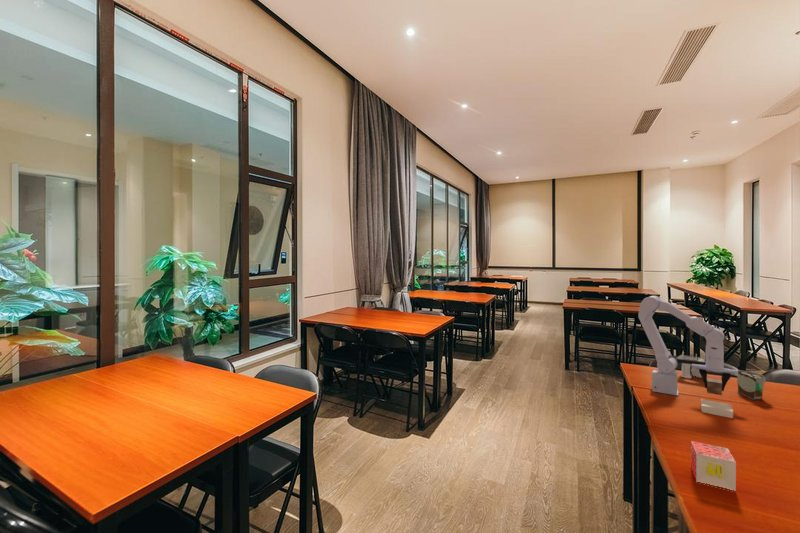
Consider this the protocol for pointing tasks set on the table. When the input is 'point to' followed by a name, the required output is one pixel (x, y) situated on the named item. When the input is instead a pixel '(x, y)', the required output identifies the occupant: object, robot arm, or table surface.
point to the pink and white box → (713, 465)
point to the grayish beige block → (714, 386)
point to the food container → (750, 384)
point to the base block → (716, 408)
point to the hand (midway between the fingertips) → (714, 388)
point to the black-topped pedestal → (690, 364)
